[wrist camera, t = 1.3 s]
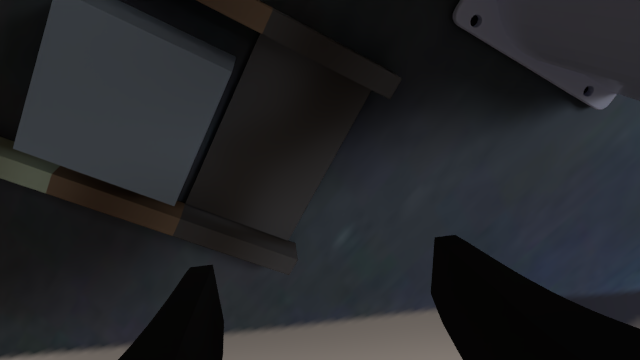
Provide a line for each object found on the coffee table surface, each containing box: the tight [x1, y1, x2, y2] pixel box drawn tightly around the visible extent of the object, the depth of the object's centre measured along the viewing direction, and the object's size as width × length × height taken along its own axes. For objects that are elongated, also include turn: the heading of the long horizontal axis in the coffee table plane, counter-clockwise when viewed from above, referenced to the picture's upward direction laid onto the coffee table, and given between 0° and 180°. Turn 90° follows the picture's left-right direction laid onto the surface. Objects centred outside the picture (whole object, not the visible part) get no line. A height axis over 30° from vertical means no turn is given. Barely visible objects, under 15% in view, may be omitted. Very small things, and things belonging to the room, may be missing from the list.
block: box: [13, 0, 236, 206], centre depth 17 cm, size 6×6×4 cm
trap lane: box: [0, 0, 402, 275], centre depth 18 cm, size 21×11×2 cm, turn 62°
